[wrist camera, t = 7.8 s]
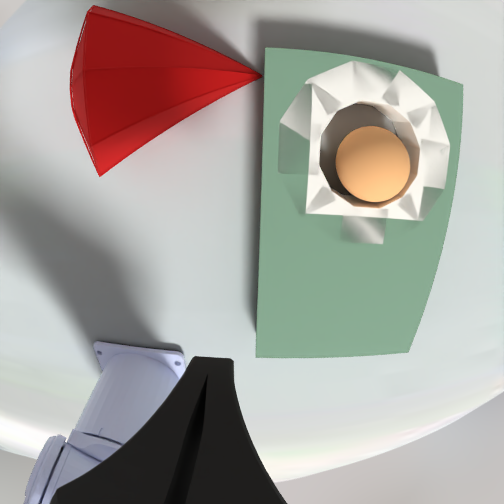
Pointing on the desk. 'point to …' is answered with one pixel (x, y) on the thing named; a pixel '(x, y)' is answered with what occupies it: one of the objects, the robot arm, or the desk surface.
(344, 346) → the green flat board
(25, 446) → the desk surface
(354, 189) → the ball
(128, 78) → the gemstone
